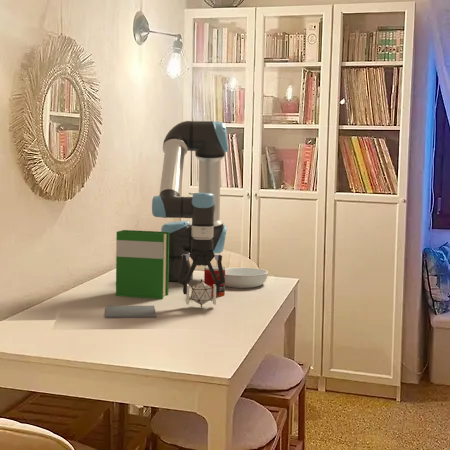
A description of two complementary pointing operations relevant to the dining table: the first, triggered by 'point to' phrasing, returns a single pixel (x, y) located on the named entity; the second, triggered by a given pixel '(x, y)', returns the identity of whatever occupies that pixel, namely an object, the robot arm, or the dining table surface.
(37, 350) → the dining table surface
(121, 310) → the mat
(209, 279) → the canned food
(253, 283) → the serving bowl
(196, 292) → the game die
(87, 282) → the dining table surface
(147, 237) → the hardback book
